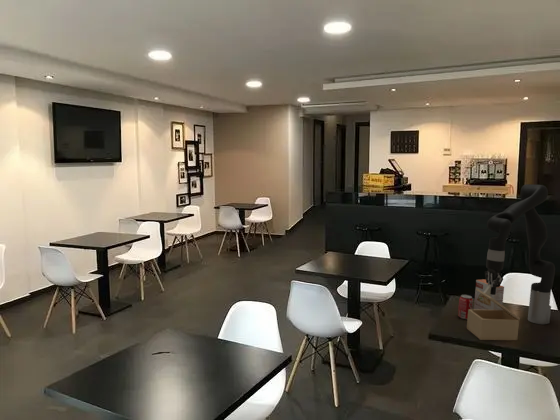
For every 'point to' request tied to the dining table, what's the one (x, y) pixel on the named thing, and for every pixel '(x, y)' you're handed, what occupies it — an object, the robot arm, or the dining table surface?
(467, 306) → the soda can
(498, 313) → the carton
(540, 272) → the robot arm
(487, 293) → the lid flap
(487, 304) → the cracker box
